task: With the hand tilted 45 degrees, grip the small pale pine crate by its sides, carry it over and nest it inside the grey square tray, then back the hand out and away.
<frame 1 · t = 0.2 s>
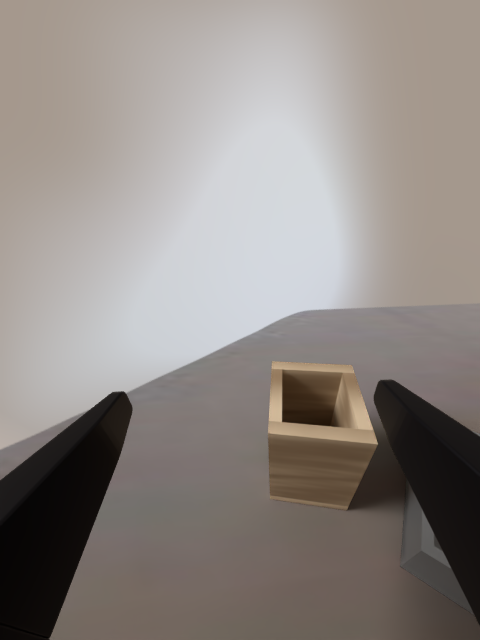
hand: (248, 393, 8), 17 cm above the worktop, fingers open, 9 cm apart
tall pine crate: (304, 465, 21), on the worktop
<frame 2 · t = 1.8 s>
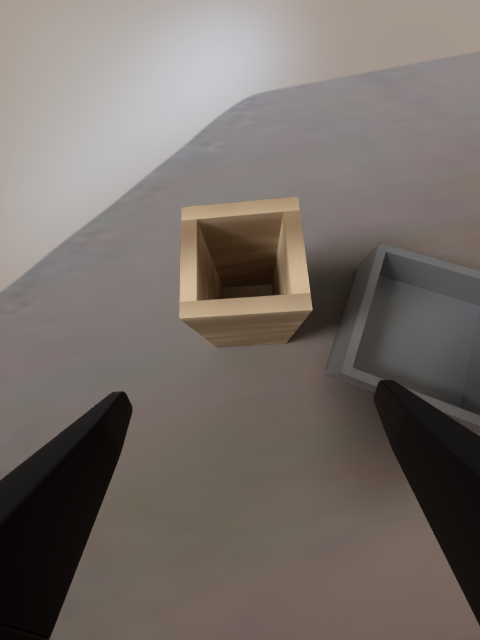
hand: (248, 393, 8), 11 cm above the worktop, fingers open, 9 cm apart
tall pine crate: (249, 312, 21), on the worktop
grey square tray: (402, 339, 19), on the worktop
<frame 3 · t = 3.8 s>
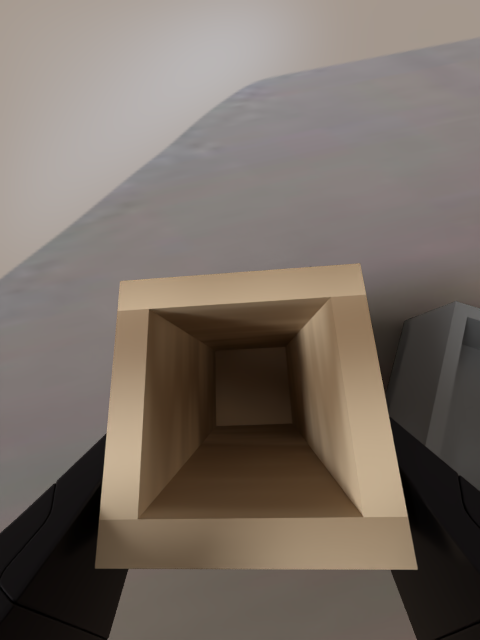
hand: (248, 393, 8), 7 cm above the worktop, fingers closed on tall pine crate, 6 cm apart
tall pine crate: (252, 384, 15), on the worktop, touching gripper
grey square tray: (476, 433, 13), on the worktop
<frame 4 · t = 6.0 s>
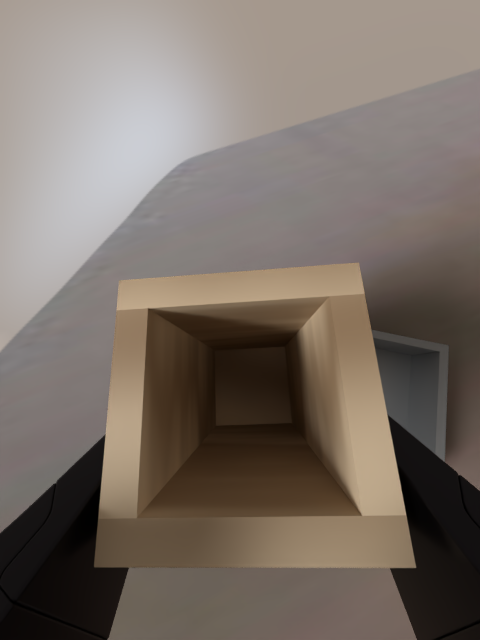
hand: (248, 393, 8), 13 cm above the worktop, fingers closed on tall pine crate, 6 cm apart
tall pine crate: (251, 384, 15), point 7 cm above the worktop, touching gripper
grey square tray: (348, 394, 21), on the worktop
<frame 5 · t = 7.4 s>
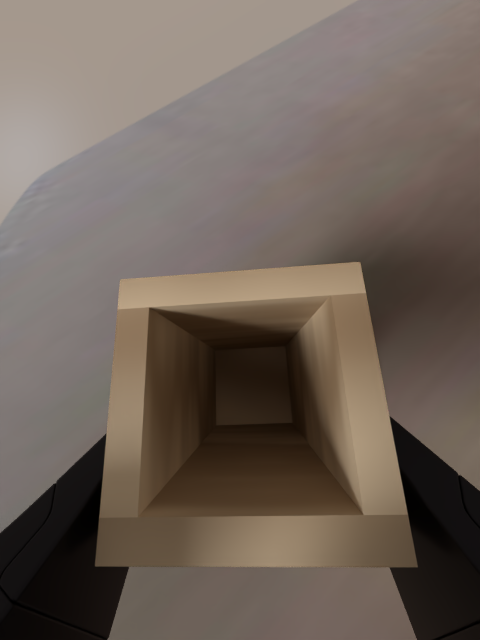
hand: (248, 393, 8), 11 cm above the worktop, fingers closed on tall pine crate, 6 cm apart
tall pine crate: (252, 384, 15), point 4 cm above the worktop, touching gripper
when the fingers open (9 cm above the worktop, at t = 8.3 s): tall pine crate drops 1 cm, resting on grey square tray.
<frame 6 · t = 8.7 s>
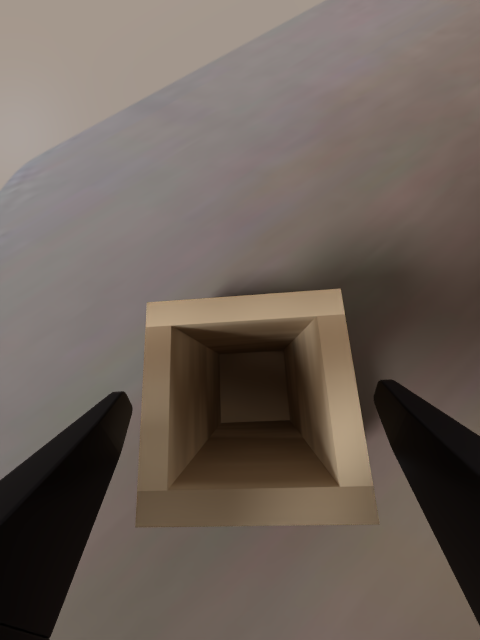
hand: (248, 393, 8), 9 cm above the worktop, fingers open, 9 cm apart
tall pine crate: (253, 385, 16), point 1 cm above the worktop, touching grey square tray
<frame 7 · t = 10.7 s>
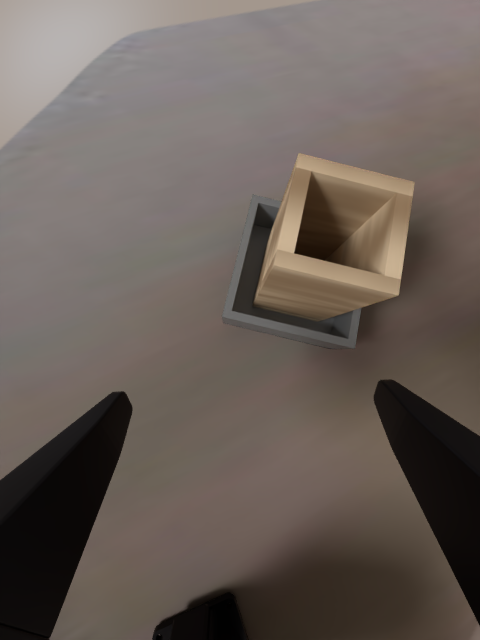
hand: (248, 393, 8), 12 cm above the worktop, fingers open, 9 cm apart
tall pine crate: (291, 282, 21), point 1 cm above the worktop, touching grey square tray
grey square tray: (288, 283, 22), on the worktop, touching tall pine crate
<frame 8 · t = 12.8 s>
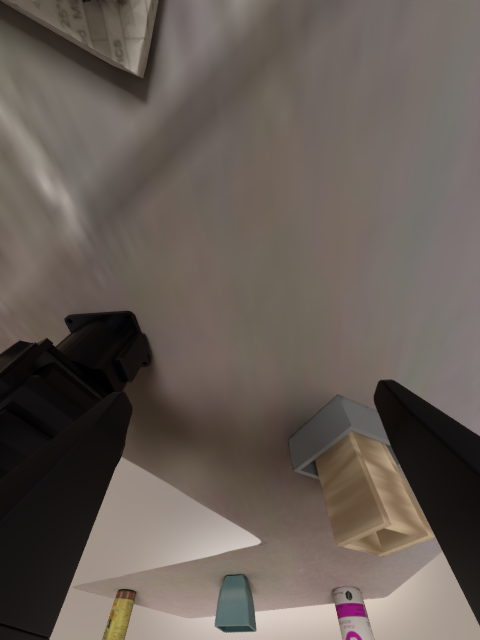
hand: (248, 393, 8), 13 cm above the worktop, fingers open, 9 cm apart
sauce bottle: (127, 590, 77), on the worktop
supplement can: (345, 588, 70), on the worktop
flower pot: (237, 575, 66), on the worktop
tall pine crate: (343, 437, 30), point 1 cm above the worktop, touching grey square tray
grey square tray: (342, 431, 30), on the worktop, touching tall pine crate
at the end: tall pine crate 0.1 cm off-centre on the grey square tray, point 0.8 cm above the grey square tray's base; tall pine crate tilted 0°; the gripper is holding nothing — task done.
